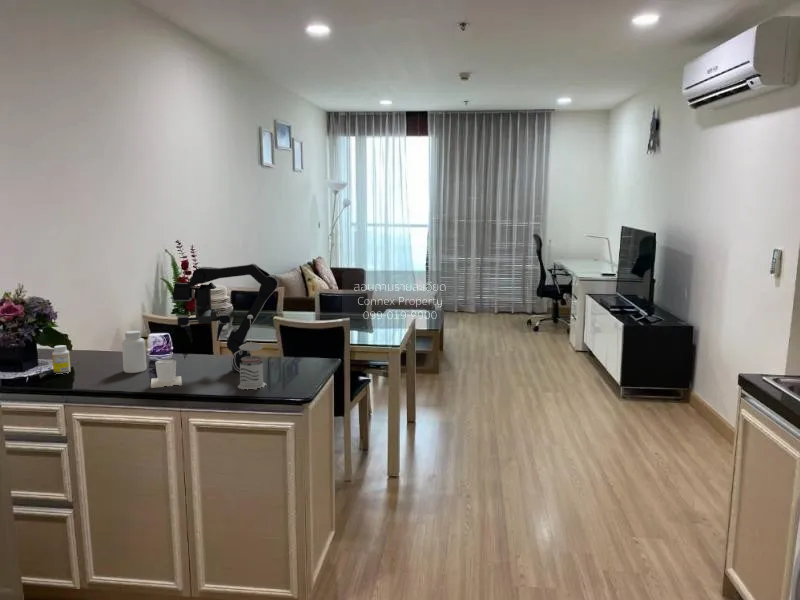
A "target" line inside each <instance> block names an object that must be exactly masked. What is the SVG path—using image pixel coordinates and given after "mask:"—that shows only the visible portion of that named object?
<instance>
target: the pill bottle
mask: <svg viewBox="0 0 800 600" xmlns="http://www.w3.org/2000/svg"><path fill="white" fill-rule="evenodd" d="M124 337H125V339H123V340H122V343H121V351H122V367H123V372H125V373H126V374H138V373H142V372H144V371H146V370H147V354H146V341H145V339H144V338H142V337H141V331H140V330H128V331H125V332H124Z"/></svg>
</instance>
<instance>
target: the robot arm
mask: <svg viewBox="0 0 800 600" xmlns="http://www.w3.org/2000/svg"><path fill="white" fill-rule="evenodd" d="M242 276H251V277H252V278H253V279H254V280H255V281H256V282H257V283H258V284H260V286H259V289H258V292H257V296H256V298H255V300H254V301H253V303H252V304H251V306H250V308H249V310H248V311H247V313H246V315H245V316H244V319H243V320H242V321H241V324H240V325H239V327H238V328H237V327H234V328H233V329H231V331H230V334H229V336H228V337H227V338H226V347H227V349H228V350H229V351H230V352H231V355H232V357H231V360H232V358H233V364H234V366H233V364H232V363H231V369H232V370H233V372H234V373H240V372H239V371H240V363H241V365H242V362H243V361H241V358H243V357H247V356H251V351H245V350H242V354H241V351H240V354H241V355H240V354H239V352H238V353H237V354H236V356H235V355H234V354H235V353H236V352H237V351H239V350H240V348H239V347H240V346H241V345H243V344H245V343H248V342H247V340H248V336H249V334H250V319H248V318H247V317H248V315H252V316H253V318H251V327H252V326H253V324H254V323H255V321H256V319H257V318H258V316H259V314H260V313H261V311H262V309H263V308H264V305H265V303H266V302H267V300H268V299H269V298H270V297H271V295H273V293H274V292H275V291H276V290H277V289H278V288H279V286H280V279H279V277H277V276H276V275H274V274H270V273H269V272H267V271H265V270H264V269H263V268H261V267H260V266H258V265H257V264H255V263H250V264H245V265H242V264H241V265H237V266H227V267H225V266H224V267H211V266H202V267H198V268H196V269H194V270H193V272H192V277H191V279H190V280H189V282H183V283H182V282H175V283H174V285H173V286H174V287H173V291H172V298H173V301H174V302H191V301H192V299H194V304H195V305H194V307H195V317H194V316H193V317H189V315H178V316H177V317H176V320H177V321H176V322H177V323H176V324H177V326H178V327H179V326H180V327H181V328H184V329H185V332H186V333H187V336H188V337H189V340H190V343H191V344H192V343H193V336H192V330H191V325H190V323H198V325H199V324H200V325H203V324H212V323H213V322H217V326H216V342H218V341H219V339H220V337H221V336H220V335H221V334H222V333H221V332H222V330H223V328H224V327H225V326H227V324H229V323H231V316H230V314H229V313H218V310H217V309H212V290H215V289H217V286H216V285H214V284H213V282H212V281H214V280H218V279H226V278H233V277H234V278H236V277H242ZM206 283H208V284H206ZM199 284H200V285H199ZM197 285H199V286H197ZM233 355H234V357H235V362H234V357H233ZM235 363H236V365H237V367H238V368H239V369H238V368H237V367H236V365H235ZM250 365H252V363H251V364H248V365H247V366H250ZM234 367H235V368H236V369H237V370H238V371H237V370H236V369H235V368H234ZM241 370H242V368H241ZM247 370H248V369H247Z"/></svg>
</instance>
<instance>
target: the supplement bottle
mask: <svg viewBox="0 0 800 600" xmlns="http://www.w3.org/2000/svg"><path fill="white" fill-rule="evenodd" d="M53 347H54V348H53V352H52V353H51V356H52V357H51V358H52V367H53V368H52V369H53V370H52V371H53V374H54V373H56V374H63V373H67V374H69V372H70V373H71V359H70V350H68V349H67V345H66V344H65V345H64V344H63V345H62V344H59V345H55V346H53ZM56 374H55V375H56ZM63 375H64V374H63Z"/></svg>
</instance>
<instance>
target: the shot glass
mask: <svg viewBox="0 0 800 600" xmlns="http://www.w3.org/2000/svg"><path fill="white" fill-rule="evenodd" d="M154 363H155V369H156V376H157V377H156V378H158V382H160V383H169V382H173V381H175V377H176V376H177V375H176V373H177V372H176V369H177V360H175V359H167V358H166V359H161V360H156V361H155V362H154Z"/></svg>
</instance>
